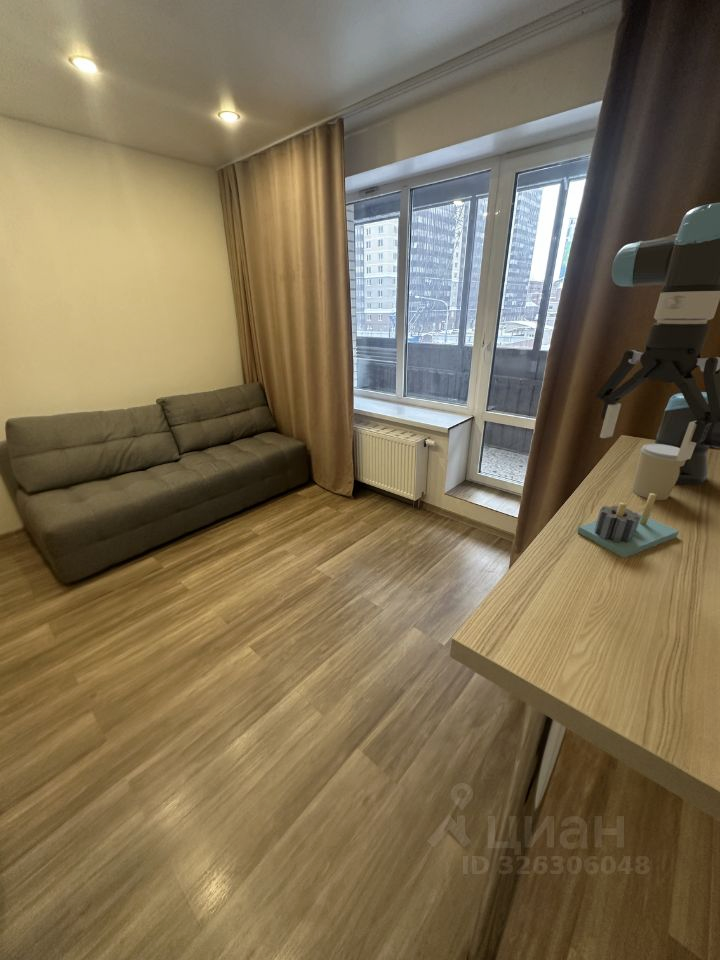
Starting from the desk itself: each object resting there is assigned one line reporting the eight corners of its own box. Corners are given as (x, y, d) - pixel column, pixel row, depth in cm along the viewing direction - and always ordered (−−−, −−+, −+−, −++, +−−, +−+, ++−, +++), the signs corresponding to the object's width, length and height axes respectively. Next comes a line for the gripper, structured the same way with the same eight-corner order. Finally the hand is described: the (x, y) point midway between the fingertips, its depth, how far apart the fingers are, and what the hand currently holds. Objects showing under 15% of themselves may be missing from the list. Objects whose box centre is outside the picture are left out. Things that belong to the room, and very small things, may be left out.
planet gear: (607, 523, 80) (614, 503, 78) (638, 538, 75) (646, 517, 73) (587, 530, 78) (593, 509, 76) (617, 546, 73) (624, 524, 71)
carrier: (628, 515, 86) (639, 482, 83) (676, 537, 78) (691, 501, 74) (577, 532, 80) (586, 497, 76) (623, 558, 72) (637, 519, 68)
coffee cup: (680, 503, 92) (698, 457, 87) (637, 499, 93) (653, 454, 88) (660, 486, 100) (676, 444, 95) (621, 484, 102) (635, 442, 97)
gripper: (592, 320, 69) (567, 431, 78) (772, 325, 48) (710, 475, 57) (619, 319, 72) (592, 427, 81) (800, 323, 51) (737, 467, 60)
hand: (641, 447), depth 69 cm, fingers open, 13 cm apart
